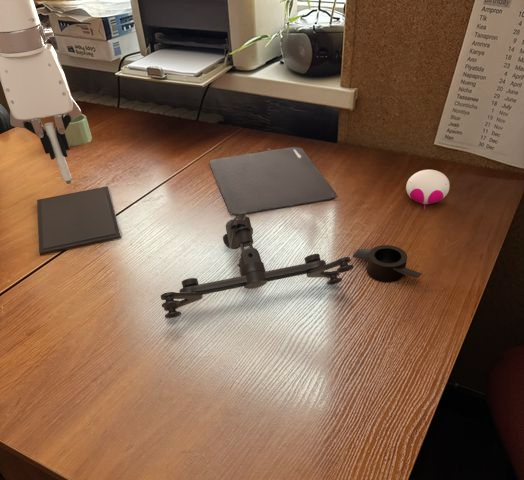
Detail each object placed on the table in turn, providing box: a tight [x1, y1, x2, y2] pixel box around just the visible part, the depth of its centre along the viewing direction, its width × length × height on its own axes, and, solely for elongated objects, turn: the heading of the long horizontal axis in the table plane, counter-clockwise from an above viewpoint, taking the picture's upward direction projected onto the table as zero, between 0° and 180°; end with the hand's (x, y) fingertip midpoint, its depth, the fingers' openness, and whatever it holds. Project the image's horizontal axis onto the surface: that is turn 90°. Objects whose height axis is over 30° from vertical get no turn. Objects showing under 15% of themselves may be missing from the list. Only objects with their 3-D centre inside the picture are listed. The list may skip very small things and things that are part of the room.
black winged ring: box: [352, 244, 422, 284], centre depth 78 cm, size 8×10×3 cm
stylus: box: [43, 121, 73, 185], centre depth 92 cm, size 2×2×11 cm
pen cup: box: [65, 113, 93, 147], centre depth 119 cm, size 6×6×6 cm
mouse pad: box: [209, 146, 337, 216], centre depth 103 cm, size 25×21×1 cm
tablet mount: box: [160, 213, 354, 319], centre depth 76 cm, size 27×14×17 cm
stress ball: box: [405, 169, 451, 210], centre depth 92 cm, size 8×8×7 cm
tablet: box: [36, 185, 122, 257], centre depth 94 cm, size 20×14×1 cm
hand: (59, 154), depth 92 cm, fingers closed on stylus, 1 cm apart
